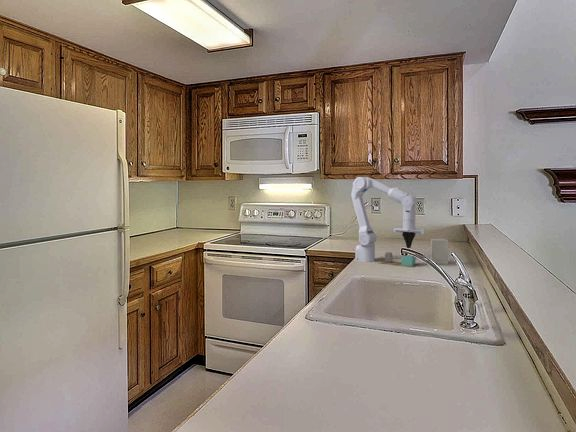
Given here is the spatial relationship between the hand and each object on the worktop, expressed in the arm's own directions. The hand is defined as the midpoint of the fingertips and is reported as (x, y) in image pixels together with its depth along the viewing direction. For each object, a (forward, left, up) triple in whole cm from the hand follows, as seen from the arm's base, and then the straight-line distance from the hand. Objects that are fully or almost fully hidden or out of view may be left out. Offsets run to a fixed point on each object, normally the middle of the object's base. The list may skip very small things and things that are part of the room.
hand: (408, 247), depth 191 cm
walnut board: (-5, 0, -9) cm, 11 cm away
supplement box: (+11, +13, -10) cm, 20 cm away
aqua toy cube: (0, 0, -8) cm, 8 cm away
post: (-10, 0, -8) cm, 13 cm away
